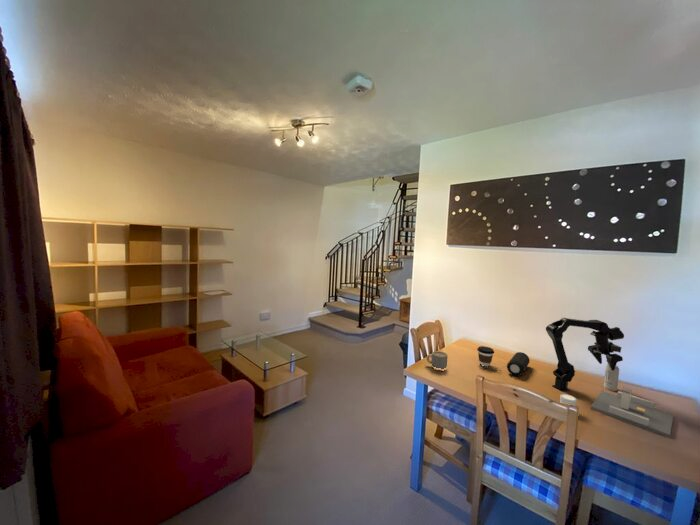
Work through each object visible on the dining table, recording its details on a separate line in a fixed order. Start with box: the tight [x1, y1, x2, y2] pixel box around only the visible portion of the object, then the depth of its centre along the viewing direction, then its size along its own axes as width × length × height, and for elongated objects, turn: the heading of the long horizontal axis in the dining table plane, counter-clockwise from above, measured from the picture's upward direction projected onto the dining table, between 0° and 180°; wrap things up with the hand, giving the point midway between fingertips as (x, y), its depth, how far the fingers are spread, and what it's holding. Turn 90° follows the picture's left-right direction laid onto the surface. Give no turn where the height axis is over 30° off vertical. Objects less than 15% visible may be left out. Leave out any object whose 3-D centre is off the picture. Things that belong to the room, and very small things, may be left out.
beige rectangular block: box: [620, 386, 633, 410], centre depth 150 cm, size 3×5×9 cm, turn 129°
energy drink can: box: [603, 363, 620, 392], centre depth 173 cm, size 6×6×15 cm
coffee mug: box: [426, 350, 448, 369], centre depth 196 cm, size 13×10×10 cm
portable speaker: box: [506, 351, 531, 377], centre depth 195 cm, size 26×10×10 cm, turn 139°
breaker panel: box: [590, 390, 674, 439], centre depth 149 cm, size 28×27×4 cm
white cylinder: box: [559, 393, 577, 407], centre depth 149 cm, size 7×7×7 cm
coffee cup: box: [477, 345, 495, 367], centre depth 202 cm, size 11×11×12 cm
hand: (606, 366), depth 169 cm, fingers open, 9 cm apart
